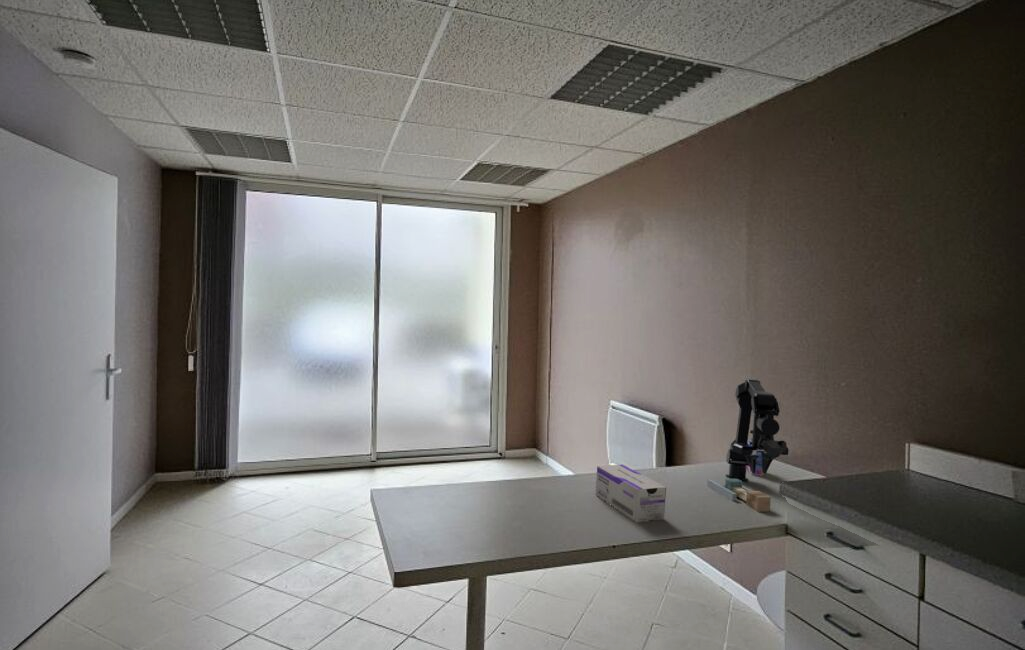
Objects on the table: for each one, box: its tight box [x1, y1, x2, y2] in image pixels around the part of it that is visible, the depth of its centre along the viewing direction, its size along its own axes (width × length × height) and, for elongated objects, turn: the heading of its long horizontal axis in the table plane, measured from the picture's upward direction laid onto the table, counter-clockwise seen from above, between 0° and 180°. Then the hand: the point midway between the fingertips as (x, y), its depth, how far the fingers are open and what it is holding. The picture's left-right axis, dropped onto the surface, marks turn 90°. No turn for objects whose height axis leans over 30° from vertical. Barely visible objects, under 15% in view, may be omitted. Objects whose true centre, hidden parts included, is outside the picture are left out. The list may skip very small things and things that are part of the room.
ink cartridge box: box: [746, 437, 765, 477], centre depth 231 cm, size 10×6×14 cm, turn 174°
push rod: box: [724, 478, 747, 502], centre depth 196 cm, size 12×5×4 cm, turn 13°
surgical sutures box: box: [595, 464, 667, 523], centre depth 181 cm, size 25×11×11 cm, turn 22°
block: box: [745, 490, 772, 512], centre depth 187 cm, size 6×5×5 cm
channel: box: [706, 479, 753, 502], centre depth 202 cm, size 16×10×2 cm, turn 13°
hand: (758, 473), depth 187 cm, fingers open, 4 cm apart
